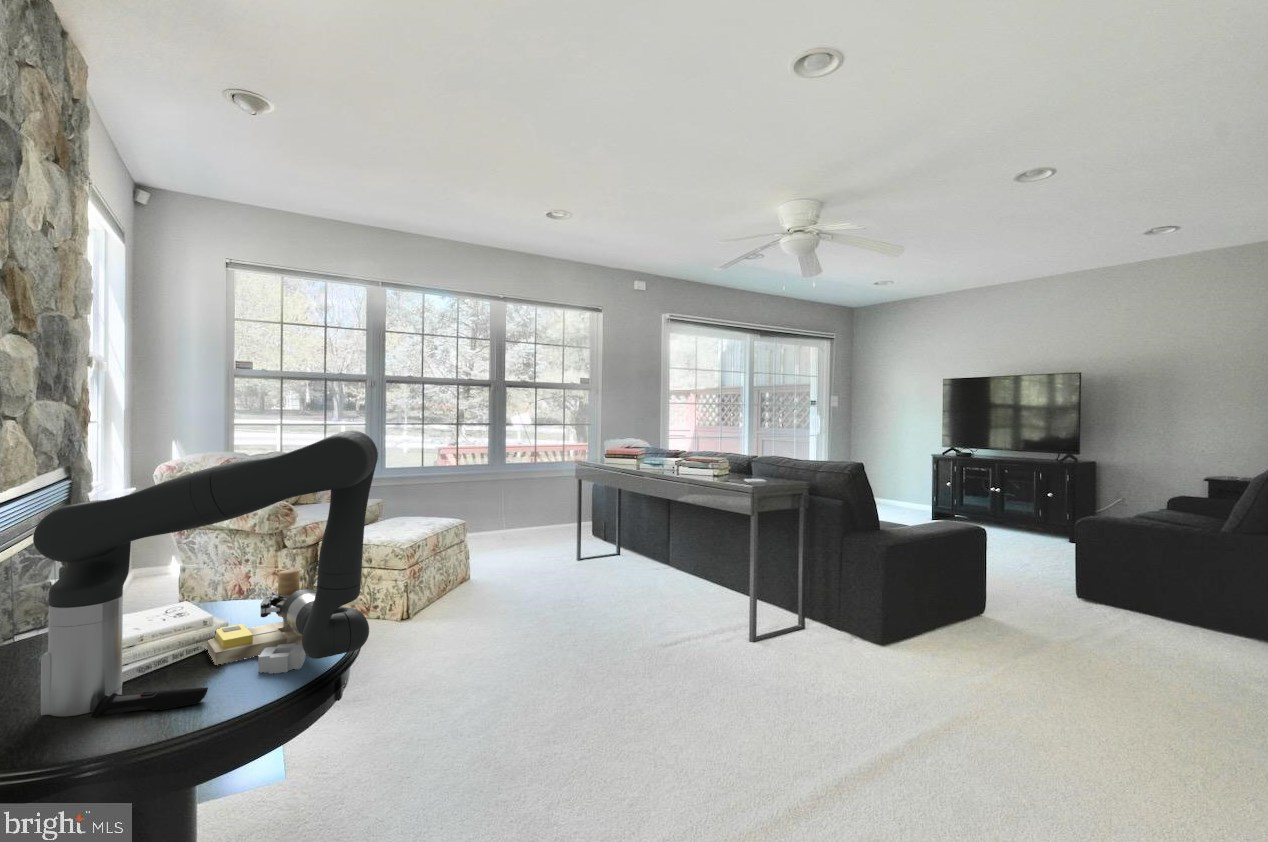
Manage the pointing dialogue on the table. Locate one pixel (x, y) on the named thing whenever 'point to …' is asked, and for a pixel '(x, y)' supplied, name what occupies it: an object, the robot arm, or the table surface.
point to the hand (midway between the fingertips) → (285, 594)
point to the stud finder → (233, 636)
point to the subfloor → (261, 639)
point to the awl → (288, 587)
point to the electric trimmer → (148, 701)
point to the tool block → (281, 658)
